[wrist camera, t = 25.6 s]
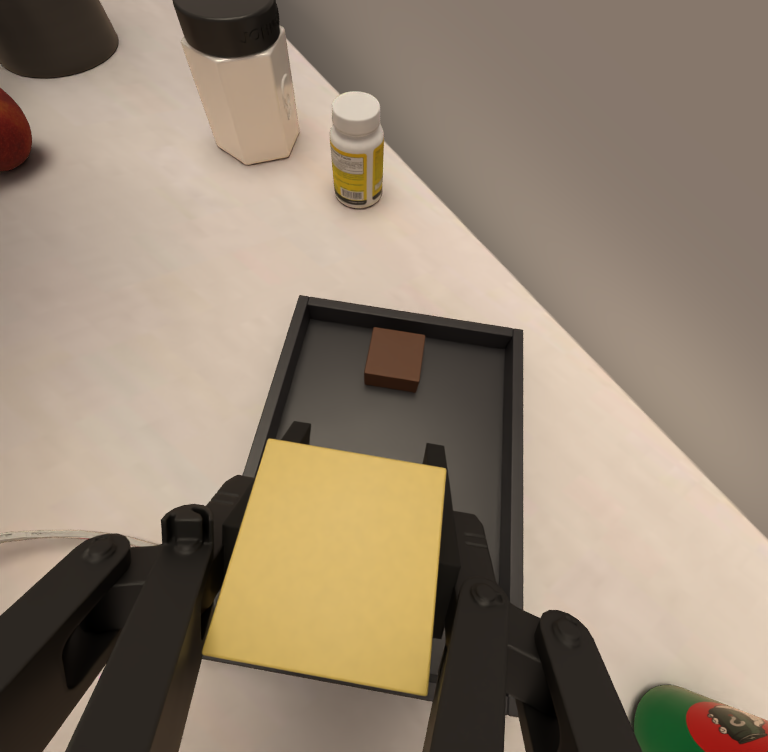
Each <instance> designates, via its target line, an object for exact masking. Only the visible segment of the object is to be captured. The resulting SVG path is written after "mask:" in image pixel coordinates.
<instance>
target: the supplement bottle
mask: <svg viewBox="0 0 768 752" xmlns="http://www.w3.org/2000/svg"><path fill="white" fill-rule="evenodd" d="M332 122H333V125H332V127H331V130H330V146H331V156H332V168H333V178H334V188H335V194H336V197H337V198H338V200H339V201H340V202H341V203H343V204H344V205H346V206H348V207H352V208H365V207H369V206H371V205H373V204H374V203H376V202H377V201H378V200H379V199H380V197H381V194H382V180H383V151H384V132H383V129H382V127H381V125H380V104H379V102H378V100H377V99H376V98H375V97H373V96H372V95H370V94H367V93H364V92H347V93H343V94H341V95H339V96H337V97H336V98H335V99H334V101H333V103H332Z"/></svg>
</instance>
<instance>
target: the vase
mask: <svg viewBox="0 0 768 752" xmlns="http://www.w3.org/2000/svg"><path fill="white" fill-rule="evenodd" d="M117 46H118V37H117V34H116V32H115V30H114V28H113V26H112V24H111V22H110V20H109V18H108V17H107V15H106V12H105V10H104V8H103V6H102V5H101V3H100V1H99V0H0V63H1V64H2V65H3V66H4V67H5V68H6V69H8V70H9V71H11V72H13V73H16V74H19V75H23V76H28V77H37V78H51V77H61V76H67V75H72V74H76V73H79V72H83V71H85V70H88V69H91V68H93V67H95V66H97V65H99V64H101V63H102V62H104V61H105V60H107V59H108V58H109V57H110V56H111V55H112V54H113V53H114V52H115V50H116V48H117Z"/></svg>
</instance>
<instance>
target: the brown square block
mask: <svg viewBox="0 0 768 752" xmlns="http://www.w3.org/2000/svg"><path fill="white" fill-rule="evenodd" d="M424 343H425V335H422V334H415V333H409V332H403V331H397V330H390V329H384V328H378V327H373V332H372V336H371V341H370V346H369V351H368V356H367V361H366V366H365V371H364V384H366V385H372V386H378V387H384V388H390V389H396V390H402V391H408V392H414V393H416V391H417V388H418V385H419V381H420V373H421V366H422V358H423V351H424Z"/></svg>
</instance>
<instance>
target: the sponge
mask: <svg viewBox="0 0 768 752" xmlns="http://www.w3.org/2000/svg"><path fill="white" fill-rule="evenodd" d="M445 482H446V469H445V468H442V467H436V466H430V465H424V464H418V463H412V462H406V461H400V460H395V459H389V458H383V457H377V456H371V455H365V454H359V453H353V452H347V451H341V450H336V449H330V448H324V447H318V446H312V445H306V444H300V443H294V442H288V441H283V440H277V439H271V438H270V439H268V440H267V443H266V446H265V450H264V453H263V456H262V459H261V462H260V466H259V469H258V472H257V475H256V479H255V482H254V485H253V488H252V491H251V495H250V498H249V501H248V504H247V507H246V511H245V514H244V517H243V520H242V524H241V527H240V530H239V533H238V536H237V540H236V543H235V546H234V549H233V553H232V556H231V559H230V562H229V565H228V569H227V572H226V575H225V578H224V581H223V585H222V588H221V591H220V594H219V598H218V601H217V604H216V607H215V610H214V614H213V617H212V620H211V623H210V627H209V630H208V633H207V636H206V639H205V643H204V646H203V649H202V654H203V655H204V656H210V657H215V658H221V659H226V660H231V661H237V662H242V663H247V664H253V665H258V666H264V667H269V668H274V669H280V670H285V671H290V672H296V673H301V674H307V675H312V676H317V677H323V678H328V679H333V680H339V681H344V682H350V683H355V684H360V685H366V686H371V687H377V688H382V689H387V690H393V691H398V692H403V693H409V694H414V695H420V696H427V694H428V687H429V675H430V663H431V651H432V639H433V627H434V615H435V603H436V590H437V578H438V566H439V554H440V542H441V530H442V518H443V506H444V494H445Z"/></svg>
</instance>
